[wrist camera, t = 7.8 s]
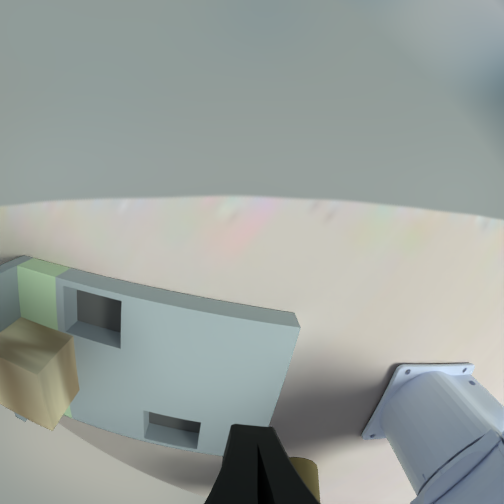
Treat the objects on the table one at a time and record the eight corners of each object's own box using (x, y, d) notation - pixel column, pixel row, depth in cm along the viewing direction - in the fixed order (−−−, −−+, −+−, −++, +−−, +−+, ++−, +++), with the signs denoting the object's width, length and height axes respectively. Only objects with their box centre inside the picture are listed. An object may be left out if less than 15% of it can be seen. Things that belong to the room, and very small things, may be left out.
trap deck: (294, 312, 18) (309, 350, 14) (254, 441, 21) (257, 484, 16) (23, 255, 17) (-17, 272, 12) (40, 386, 19) (16, 416, 15)
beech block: (73, 335, 16) (37, 374, 11) (79, 389, 17) (52, 431, 12) (21, 316, 15) (-19, 346, 11) (30, 369, 16) (-1, 403, 12)
